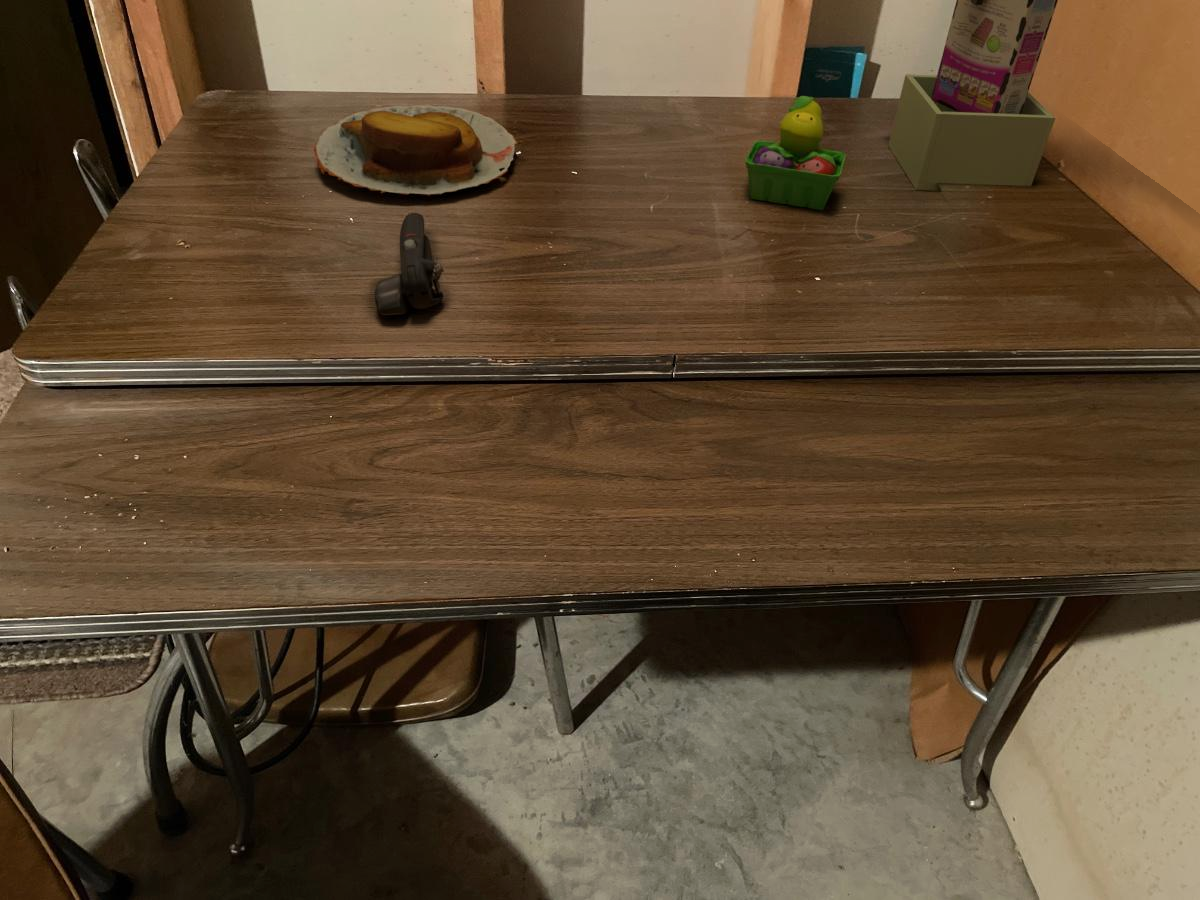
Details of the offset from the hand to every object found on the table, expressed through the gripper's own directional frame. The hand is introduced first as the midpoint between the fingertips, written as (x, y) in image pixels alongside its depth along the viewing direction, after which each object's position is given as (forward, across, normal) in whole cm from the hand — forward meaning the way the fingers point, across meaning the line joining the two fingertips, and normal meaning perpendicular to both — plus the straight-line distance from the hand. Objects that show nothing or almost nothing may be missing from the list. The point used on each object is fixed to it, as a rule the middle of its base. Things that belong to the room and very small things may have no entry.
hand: (1005, 4), depth 109 cm
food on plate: (+20, +71, +4) cm, 74 cm away
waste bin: (+21, 0, 0) cm, 21 cm away
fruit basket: (+21, +24, +10) cm, 33 cm away
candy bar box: (+13, 0, 0) cm, 13 cm away
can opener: (+21, +67, +34) cm, 78 cm away
